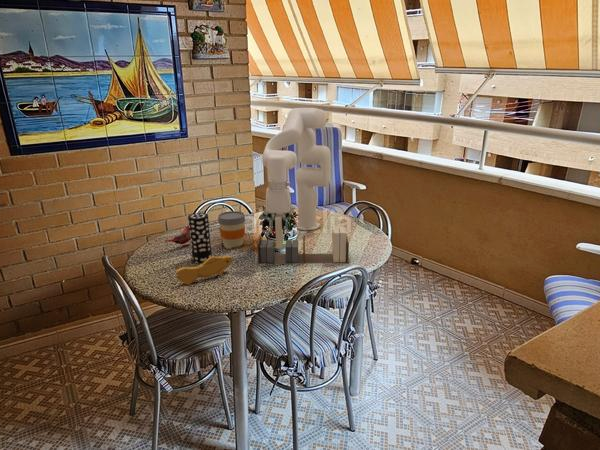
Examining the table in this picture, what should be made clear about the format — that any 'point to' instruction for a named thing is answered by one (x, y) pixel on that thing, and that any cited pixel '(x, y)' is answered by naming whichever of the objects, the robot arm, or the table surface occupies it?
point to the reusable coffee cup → (232, 228)
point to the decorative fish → (204, 269)
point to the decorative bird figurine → (181, 237)
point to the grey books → (268, 251)
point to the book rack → (304, 256)
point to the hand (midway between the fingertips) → (279, 227)
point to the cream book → (279, 230)
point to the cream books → (339, 244)
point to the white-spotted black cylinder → (200, 237)
